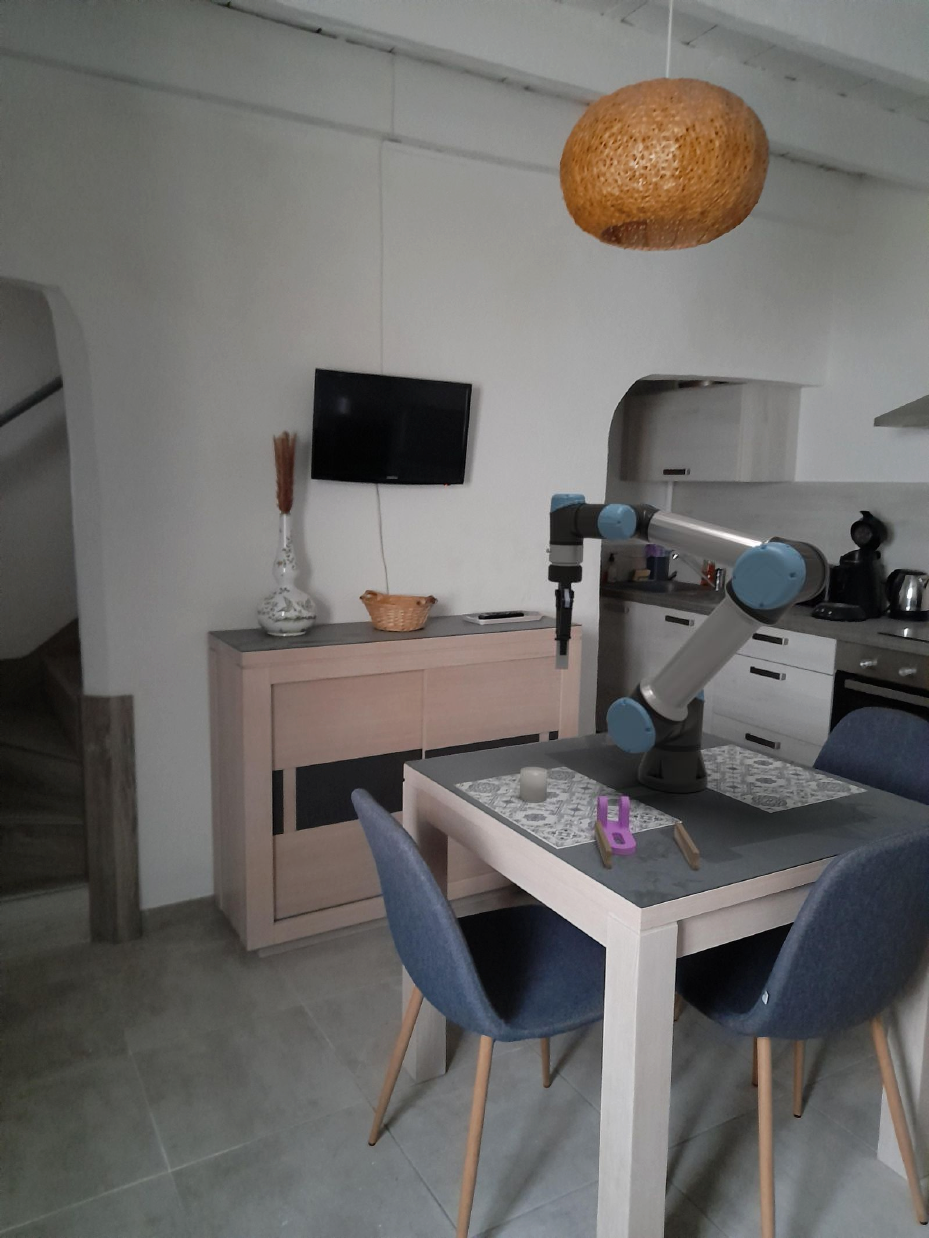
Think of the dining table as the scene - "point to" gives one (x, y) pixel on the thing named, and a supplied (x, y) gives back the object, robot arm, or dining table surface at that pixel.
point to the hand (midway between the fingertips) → (561, 668)
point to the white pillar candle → (533, 784)
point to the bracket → (617, 826)
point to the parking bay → (679, 835)
